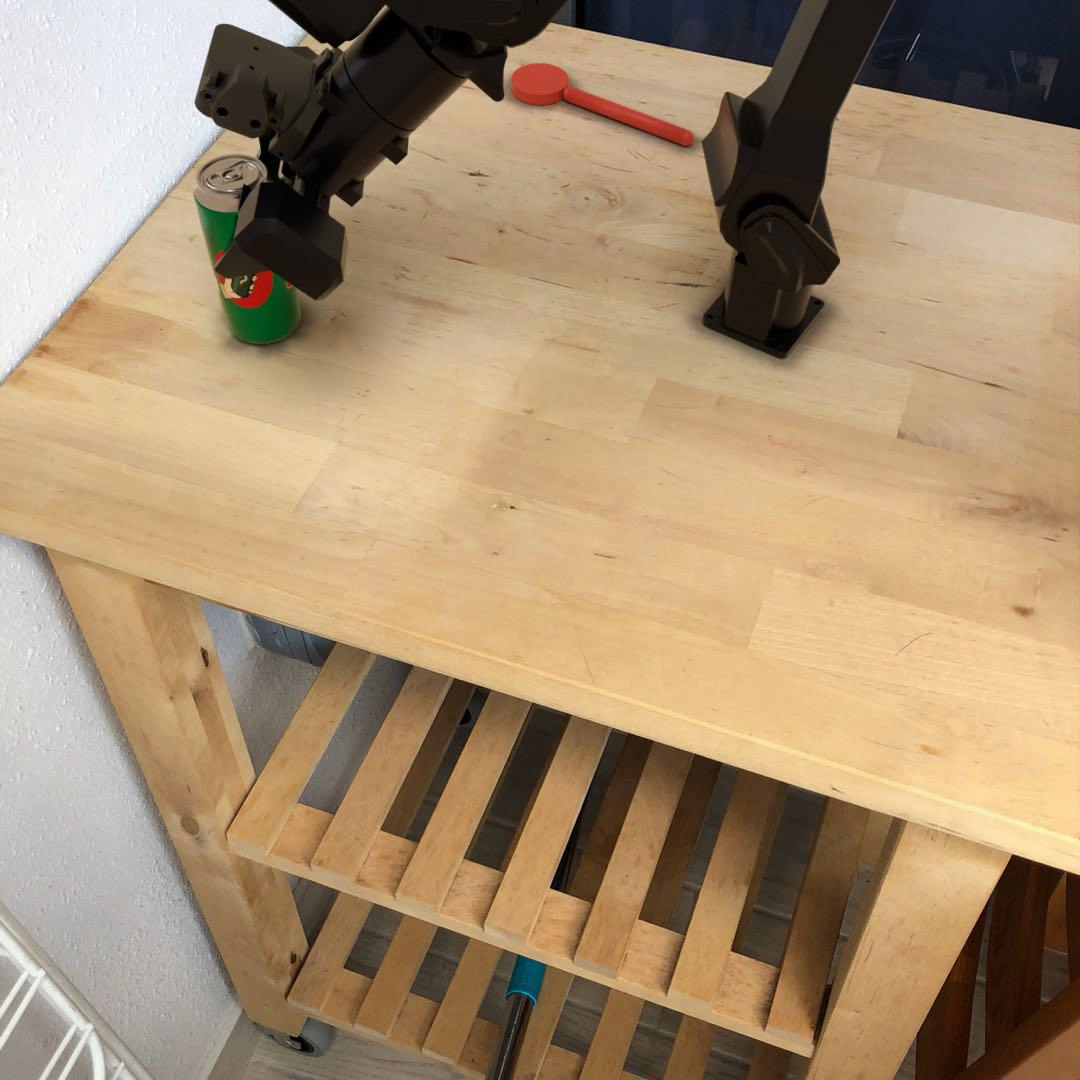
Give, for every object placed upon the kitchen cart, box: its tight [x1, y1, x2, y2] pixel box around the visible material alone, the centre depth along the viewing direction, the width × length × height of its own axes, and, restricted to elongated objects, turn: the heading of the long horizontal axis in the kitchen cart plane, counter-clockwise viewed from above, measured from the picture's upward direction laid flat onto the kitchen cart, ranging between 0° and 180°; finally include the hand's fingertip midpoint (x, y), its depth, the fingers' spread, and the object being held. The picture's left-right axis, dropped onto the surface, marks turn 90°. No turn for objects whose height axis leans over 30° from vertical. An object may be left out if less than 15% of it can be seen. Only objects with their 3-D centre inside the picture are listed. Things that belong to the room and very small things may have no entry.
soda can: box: [192, 153, 302, 345], centre depth 77 cm, size 5×5×12 cm
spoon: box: [510, 62, 695, 147], centre depth 97 cm, size 17×5×1 cm, turn 57°
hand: (226, 246), depth 76 cm, fingers closed on soda can, 5 cm apart
